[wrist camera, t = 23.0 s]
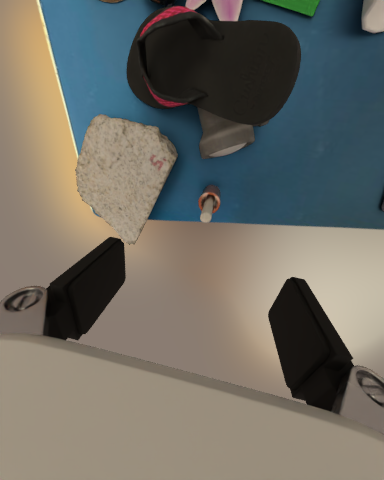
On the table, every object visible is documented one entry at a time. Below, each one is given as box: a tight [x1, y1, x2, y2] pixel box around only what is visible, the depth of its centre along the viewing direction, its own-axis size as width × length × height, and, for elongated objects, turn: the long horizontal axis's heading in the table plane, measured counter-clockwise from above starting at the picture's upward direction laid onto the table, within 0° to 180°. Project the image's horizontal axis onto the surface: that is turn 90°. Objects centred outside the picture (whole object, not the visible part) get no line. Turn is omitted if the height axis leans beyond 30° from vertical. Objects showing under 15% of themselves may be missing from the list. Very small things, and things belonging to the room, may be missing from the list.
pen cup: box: [198, 185, 220, 213], centre depth 31 cm, size 3×4×7 cm
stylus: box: [200, 195, 215, 223], centre depth 28 cm, size 1×1×13 cm
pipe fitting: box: [197, 107, 269, 159], centre depth 25 cm, size 12×8×10 cm
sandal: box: [127, 6, 301, 125], centre depth 19 cm, size 10×25×6 cm
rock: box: [75, 114, 178, 245], centre depth 31 cm, size 20×17×10 cm
